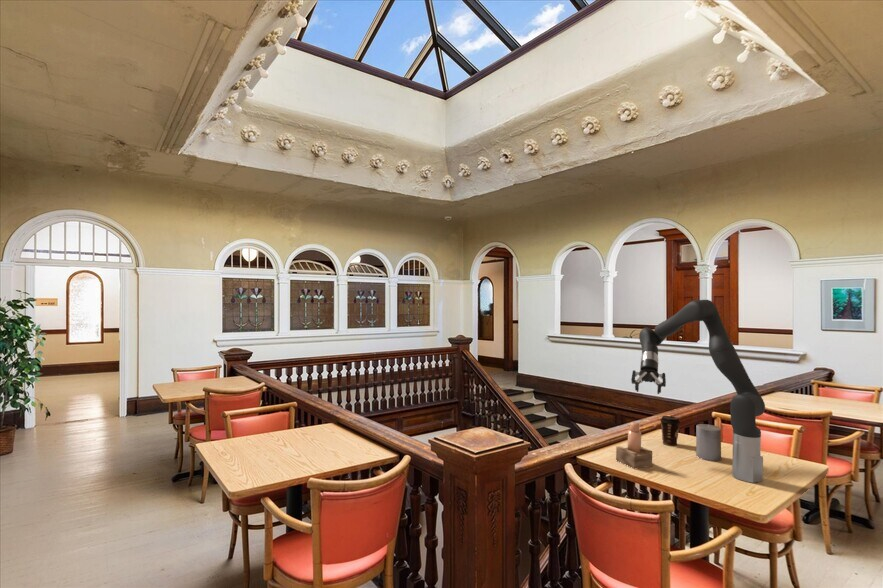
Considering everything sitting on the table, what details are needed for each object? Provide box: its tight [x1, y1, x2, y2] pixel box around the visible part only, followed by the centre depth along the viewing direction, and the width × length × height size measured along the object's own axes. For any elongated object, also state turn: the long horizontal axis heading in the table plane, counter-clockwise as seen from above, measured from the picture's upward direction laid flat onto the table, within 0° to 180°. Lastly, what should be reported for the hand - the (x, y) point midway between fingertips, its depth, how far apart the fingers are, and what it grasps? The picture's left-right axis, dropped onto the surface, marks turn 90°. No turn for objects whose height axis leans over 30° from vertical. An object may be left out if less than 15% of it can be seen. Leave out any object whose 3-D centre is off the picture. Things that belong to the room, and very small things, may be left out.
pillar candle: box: [695, 423, 722, 462], centre depth 205 cm, size 10×10×15 cm
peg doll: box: [627, 421, 642, 454], centre depth 196 cm, size 5×5×12 cm
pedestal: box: [615, 445, 653, 469], centre depth 196 cm, size 10×10×6 cm
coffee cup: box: [659, 415, 681, 447], centre depth 224 cm, size 9×8×13 cm
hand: (647, 391), depth 206 cm, fingers open, 8 cm apart
